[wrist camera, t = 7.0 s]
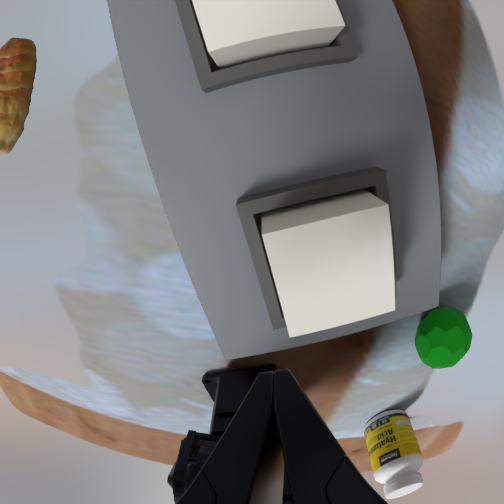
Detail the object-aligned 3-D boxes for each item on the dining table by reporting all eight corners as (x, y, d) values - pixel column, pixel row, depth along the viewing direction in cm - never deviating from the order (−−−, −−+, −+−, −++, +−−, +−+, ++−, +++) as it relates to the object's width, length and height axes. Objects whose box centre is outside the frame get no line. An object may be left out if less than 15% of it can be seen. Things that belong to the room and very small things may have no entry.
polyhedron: (445, 338, 22) (468, 372, 18) (401, 348, 22) (421, 386, 18) (459, 292, 20) (489, 324, 16) (413, 300, 20) (440, 337, 16)
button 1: (374, 279, 15) (395, 310, 12) (285, 301, 16) (289, 337, 13) (363, 188, 13) (388, 204, 10) (261, 213, 14) (261, 234, 11)
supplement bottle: (384, 404, 25) (409, 480, 16) (414, 410, 26) (440, 477, 17) (353, 431, 27) (368, 503, 18) (384, 435, 28) (402, 499, 19)
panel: (413, 277, 19) (446, 316, 15) (231, 322, 21) (223, 373, 16) (337, -45, 11) (356, -84, 6) (130, 3, 12) (94, -26, 8)
